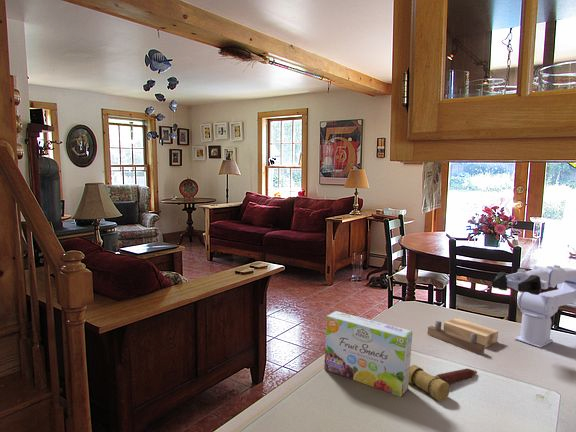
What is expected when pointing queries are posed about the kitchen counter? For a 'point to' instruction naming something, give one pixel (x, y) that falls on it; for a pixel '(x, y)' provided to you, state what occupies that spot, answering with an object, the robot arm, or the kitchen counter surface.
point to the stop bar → (456, 339)
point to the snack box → (368, 352)
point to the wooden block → (471, 331)
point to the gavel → (437, 380)
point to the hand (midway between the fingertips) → (506, 285)
